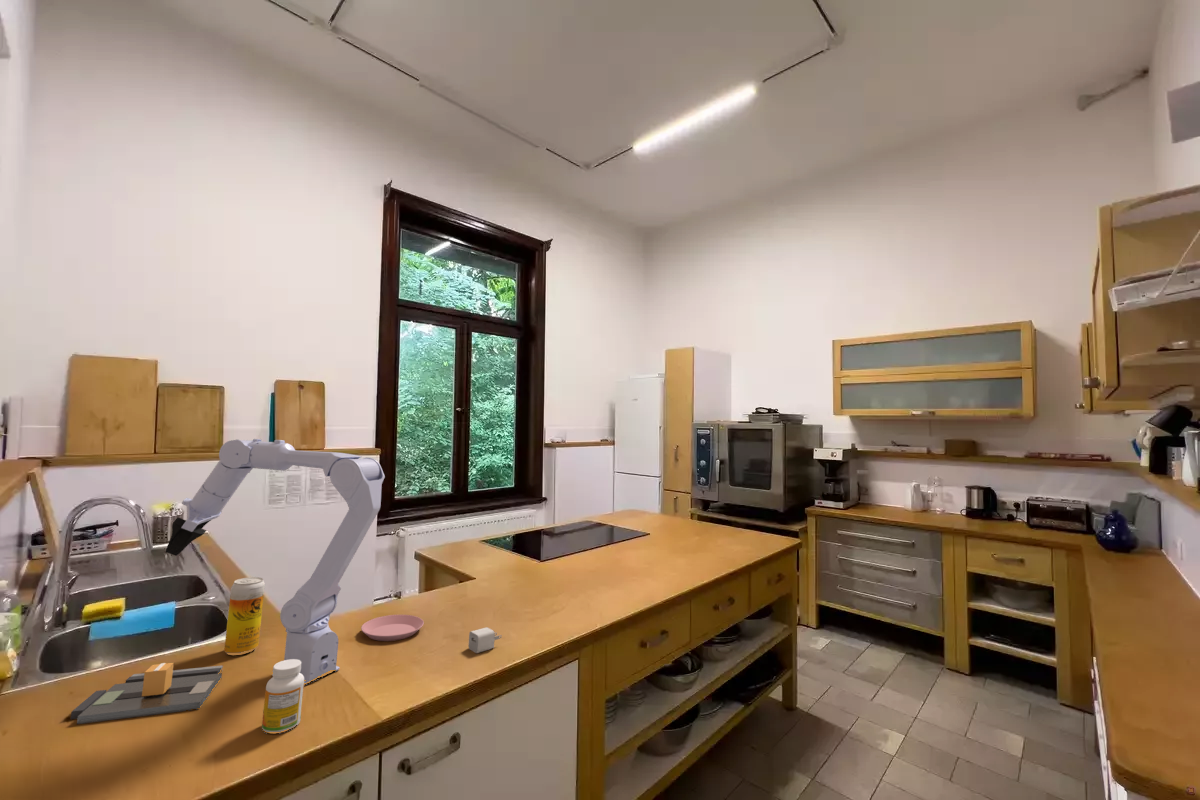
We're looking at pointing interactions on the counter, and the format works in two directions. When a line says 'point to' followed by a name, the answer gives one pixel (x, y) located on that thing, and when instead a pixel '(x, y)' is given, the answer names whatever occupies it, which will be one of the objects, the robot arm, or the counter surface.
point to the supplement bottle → (283, 697)
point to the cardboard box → (157, 679)
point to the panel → (149, 699)
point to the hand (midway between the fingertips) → (179, 544)
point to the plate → (392, 627)
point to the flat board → (140, 678)
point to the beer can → (244, 615)
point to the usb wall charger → (482, 639)
